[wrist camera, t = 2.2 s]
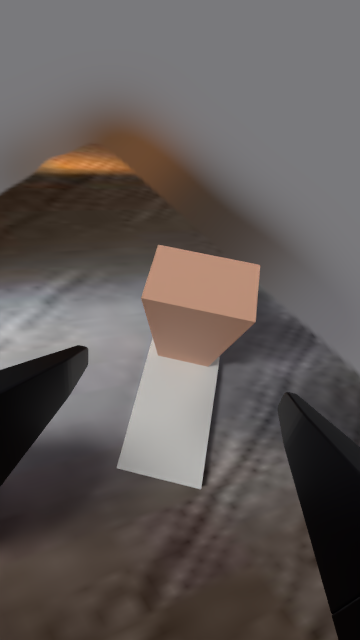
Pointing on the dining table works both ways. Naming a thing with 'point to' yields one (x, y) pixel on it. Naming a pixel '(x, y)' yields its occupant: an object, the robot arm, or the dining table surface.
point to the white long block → (170, 420)
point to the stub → (198, 303)
